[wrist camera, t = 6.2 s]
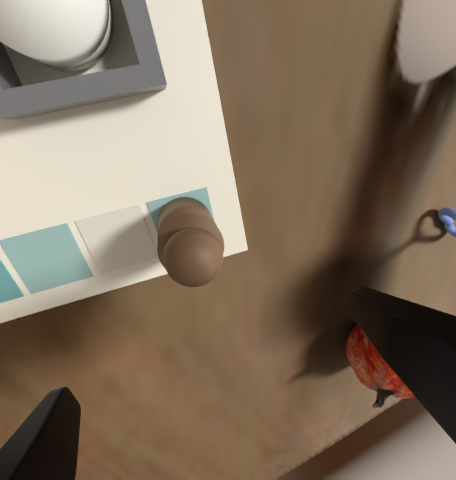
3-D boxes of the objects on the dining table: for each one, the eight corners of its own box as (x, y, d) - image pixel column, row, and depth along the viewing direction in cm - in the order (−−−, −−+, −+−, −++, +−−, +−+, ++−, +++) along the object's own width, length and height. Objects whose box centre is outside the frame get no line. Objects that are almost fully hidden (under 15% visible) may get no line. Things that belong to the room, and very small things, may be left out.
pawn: (205, 191, 18) (228, 226, 12) (215, 240, 20) (240, 292, 13) (151, 203, 18) (146, 245, 11) (165, 252, 19) (167, 312, 13)
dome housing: (112, -115, 12) (102, -167, 10) (165, 89, 15) (166, 83, 13) (-90, -95, 11) (-150, -148, 9) (16, 119, 14) (-9, 119, 12)
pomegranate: (361, 280, 29) (328, 360, 23) (450, 298, 24) (436, 404, 19) (363, 323, 33) (335, 401, 27) (439, 346, 28) (425, 445, 23)
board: (180, -98, 13) (182, -108, 13) (245, 247, 21) (248, 250, 21) (-366, -38, 10) (-395, -47, 10) (-47, 333, 18) (-53, 339, 18)
